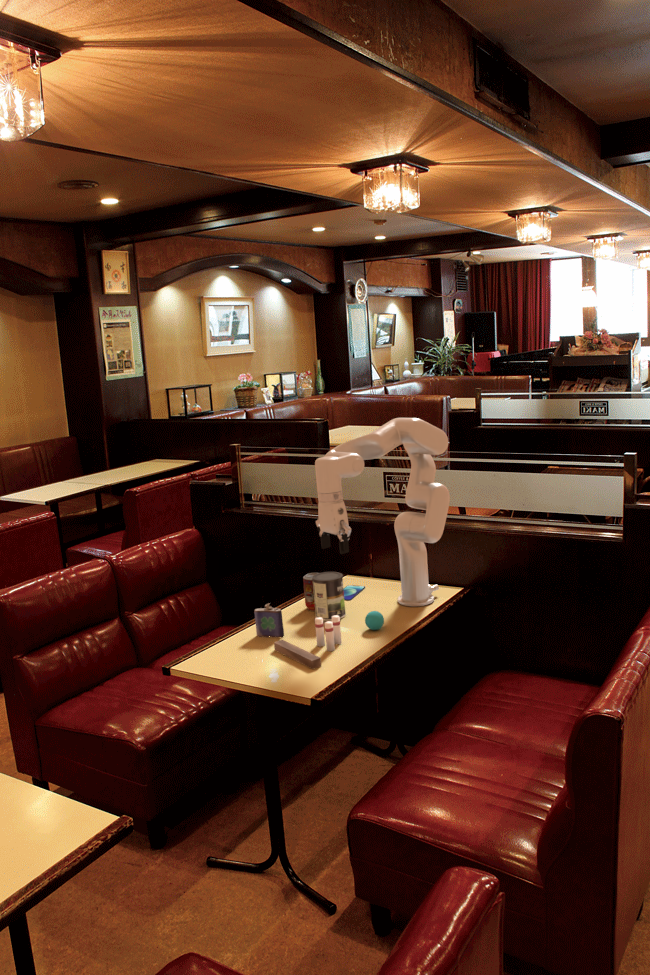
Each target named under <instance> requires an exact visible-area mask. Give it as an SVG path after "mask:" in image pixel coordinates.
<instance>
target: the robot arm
mask: <svg viewBox="0 0 650 975" xmlns="http://www.w3.org/2000/svg"><path fill="white" fill-rule="evenodd" d="M401 445H403V448H404V449H405V451H406V453H407V455H408V458H409V460H410V465H411V466H410V473H409V479H408V481H407V487H406V490H405V491H406V492H405V498H404V499H405V504H406V505H407V506H408V507H410V508H412V509H417V510H423V511H425V513H423V512H415V511H403V512H401V513H399V514H398V515H397V516H396V518H395V520H394V525H393V527H394V533H395V536H396V537H395V538H396V540H397V546H398V554H399V555H398V557H399V571H400V572H399V573H400V587H401V594H400V595H399V596H398V597H397V602H398V604H400V605H401V606H404V607H423V606H427V605H430V604H433V602H434V601H435V597H434V595H433V592H435V591H438V590H439V589H440V587H439V585H438V584H434V585H430V584H429V583H430V582H429V569H428V568H429V566H428V551H427V547H426V544H425V543H428V544H435V543H437V542H438V541H440V539H441V538H442V536H443V533H444V530H445V526H446V521H447V516H448V512H449V507H450V503H451V502H450V501H451V496H450V491H449V489H448V488H447V486H446V485H444V484H442V483H439V482H435V478H436V470H437V469H436V468H437V466H436V463H435V461H434V458H433V456H438V455H442V454H443V453H445V452H446V451H447V449H448V447H449V438H448V436H447V433H446V432H445V431H444V430H443V429H441V428H439V427H437V426H435V425H433V424H431V423H429V422H427V421H425V420H423V419H421V418H419V417H418V418H417V417H396V418H392V419H391V420H389V421H387V422H386V423H384V424H382V425H381V426H379V427H378V428H376V429H374V430H373V431H371V432H369V433H367V434H365V435H361V436H359V437H356V438H353V439H350V440H348V441H345V442H342V443H341V444H339V445H337V446H335V447H334V448H332V449H330V450H329V451H328V452H327V453H326V454H325V455H324V456H322V457H318V458H316V460H314V461H315V462H314V467H315V468H314V469H315V470H314V471H315V477H316V478H315V479H316V491H317V500H318V504H317V505H318V508H317V509H318V512H317V513H318V515H317V516H318V518H317V520H315V525H316V527H317V531H318V535H319V537H320V544H321V545H320V546H321V549H322V550H325V549H328V548H331V537H330V536H331V535H334V536H337V538H338V539H339V541H338V545H339V546H338V547H339V554H340V555H344V554H348V553H350V545H349V540H350V537H351V533H352V528H351V526H349V519H348V512H347V506H346V504H345V501H344V500H343V499H344V497H343V488H342V479H343V478H345V479H346V478H355V477H357V476H359V475H361V473H362V472H363V471H364V469H365V461H366V460H367V461H368V460H374V459H378V458H382V457H384V456H385V455H387V454H388V453H389V452H391V451H393V450H394V449H396V448H397V447H399V446H401ZM330 534H331V535H330Z"/></svg>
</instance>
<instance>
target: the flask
mask: <svg viewBox="0 0 650 975" xmlns="http://www.w3.org/2000/svg"><path fill="white" fill-rule="evenodd" d="M270 604H271V602H270V603H269V602H268V603H266V604H265V605H264V608H262V607H260V608H255V609H254V610H253V611H254V620H255V631H256V637H259V638H276V637H277V638H278V637H281V638H284V637H285V628H284V621H283V612H282V609H281V608H278V607H272V606H271V605H270ZM269 636H270V637H269ZM283 636H284V637H283Z"/></svg>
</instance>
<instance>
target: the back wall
mask: <svg viewBox="0 0 650 975" xmlns="http://www.w3.org/2000/svg"><path fill="white" fill-rule="evenodd" d="M273 645H274V646H273V647H274V651H275V650H276V651H275V652H277V651H278V653H279V652H280V654H281V655H283V654H284V655H283V656H285V655H286V656H285V657H287V658H289V657H290V658H289V659H291V660H294V661H295V662H298V663H299V664H302V665H303V666H305V667H308V668H309V669H311V670H314V669H317V668H320V667H322V659H321V657H320V656H317V655H316V654H314V653H311V652H309V651H307V650H306V649H303V648H301V647H299V646H296V645H295V644H293V643H290V642H288V641H286V640H284V639H280V640H277V641H274V642H273Z"/></svg>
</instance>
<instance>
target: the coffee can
mask: <svg viewBox="0 0 650 975" xmlns="http://www.w3.org/2000/svg"><path fill="white" fill-rule="evenodd" d="M317 573H318V574H316V575H314V576H312V580H313V589H314V600H315V611H314V612H315V618H318V617H321V618H323V622H327V621H331V622H332V616H334V615H338V616H339V617H340V620H342V619H343V617H344V618H345V617H346V616H345V615H346V603H345V600H344V590H343V589H344V580H343V577H344V574H343V573H341V572H337V571H323V572H317ZM341 618H342V619H341Z"/></svg>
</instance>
